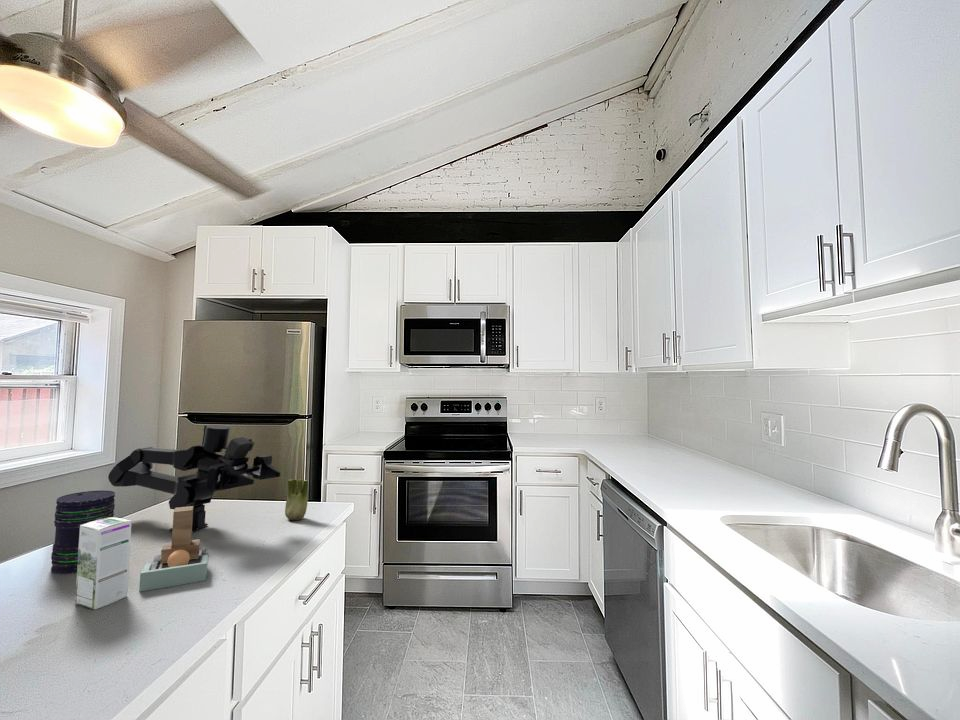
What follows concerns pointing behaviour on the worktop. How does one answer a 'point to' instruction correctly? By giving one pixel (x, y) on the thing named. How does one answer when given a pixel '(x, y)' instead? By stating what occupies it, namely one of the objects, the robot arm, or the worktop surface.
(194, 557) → the kicker
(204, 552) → the rails
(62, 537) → the storage jar
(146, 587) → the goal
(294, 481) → the fennel bulb
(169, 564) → the ball
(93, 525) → the syrup box
